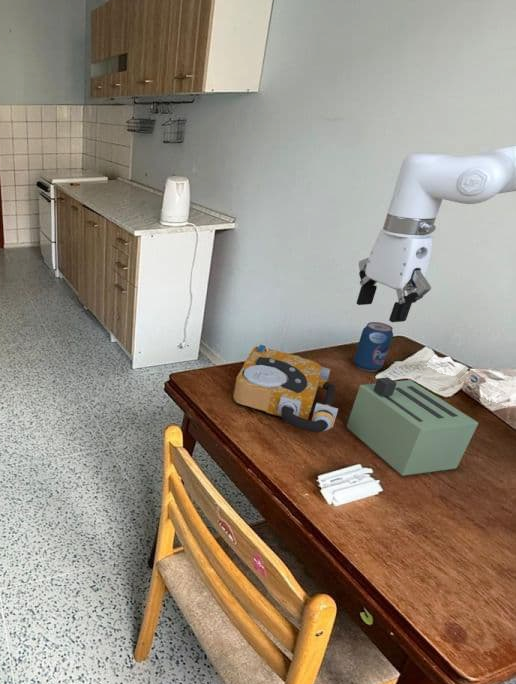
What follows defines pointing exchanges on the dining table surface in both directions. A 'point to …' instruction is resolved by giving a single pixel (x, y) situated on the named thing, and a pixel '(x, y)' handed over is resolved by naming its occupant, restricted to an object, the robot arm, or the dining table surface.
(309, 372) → the device
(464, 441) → the toaster
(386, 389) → the slider
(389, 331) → the soda can
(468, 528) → the dining table surface
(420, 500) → the dining table surface
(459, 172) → the robot arm
